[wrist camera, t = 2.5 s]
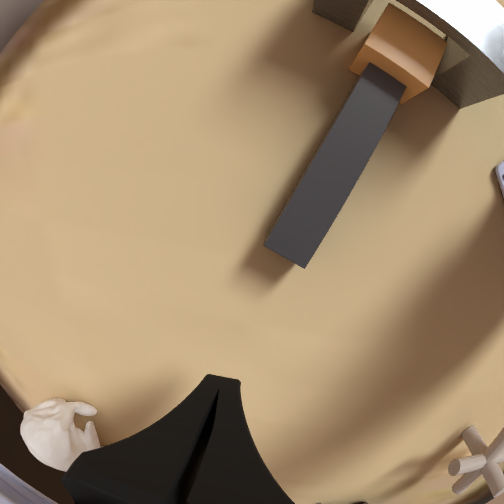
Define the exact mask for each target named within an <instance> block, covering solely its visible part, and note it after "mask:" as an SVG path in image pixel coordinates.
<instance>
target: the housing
mask: <svg viewBox="0 0 504 504" xmlns="http://www.w3.org/2000/svg"><path fill="white" fill-rule="evenodd" d="M372 1H373V0H314V6H313V11H312V12H314V13H316V14H318V15H320V16H323V17H325V18H327V19H329V20H331V21H333V22H335V23H337V24H339V25H341V26H343V27H345V28H347V29H349V30H350V31H352V32H353V31H354V30H355V28H356V26H357V25H358V23H359V22H360V20H361V19H362V17H363V15H364V14H365V12H366V11H367V9H368V8H369V6H370V4H371V3H372ZM396 1H398V2H400V3H401V4H403V5H404V6H406V7H408V8H409V9H411V10H412V11H414V12H415V13H417V14H418V15H420V16H421V17H423V18H424V19H425V20H427V21H428V22H430V23H431V24H432V25H434V26H435V27H436V28H438V29H439V30H440V31H442V32H443V33H444V34H446V35H447V38H446V42H447V46H446V48H445V51H444V53H443V56H442V58H441V61H440V63H439V65H438V68H437V70H436V73H435V75H434V77H433V80H432V82H431V84H432V85H433V86H435V87H436V88H437V89H438V90H440V91H441V92H442V93H443V94H444V95H446V96H447V97H448V98H449V99H450V100H451V101H452V102H454V103H455V104H456V105H457V106H458V107H459V108H460V109H461V108H464V107H466V106H469V105H472V104H475V103H478V102H481V101H484V100H487V99H490V98H493V97H496V96H499V95H502V94H504V8H503V7H502V6H501V5H500V4H499V3H498V2H496V1H495V0H396Z"/></svg>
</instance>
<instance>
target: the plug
mask: <svg viewBox="0 0 504 504" xmlns="http://www.w3.org/2000/svg"><path fill="white" fill-rule="evenodd" d="M446 46H447V42H446V41H445V40H443V39H442V38H441V37H439V36H438V35H437V34H435V33H434V32H433V31H431V30H430V29H429V28H427V27H426V26H425V25H423V24H422V23H420V22H419V21H417V20H416V19H414V18H413V17H411V16H410V15H408V14H407V13H405V12H404V11H402V10H400V9H399V8H397V7H396V6H394V5H392V4H391V3H389V4H388V5H387V7H386V8H385V10H384V12H383V13H382V15H381V16H380V18H379V20H378V21H377V23H376V24H375V26H374V28H373V29H372V31H371V33H370V34H369V36H368V38H367V39H366V41H365V43H364V44H363V46H362V48H361V49H360V51H359V53H358V54H357V56H356V58H355V60H354V61H353V63H352V65H351V66H350V68H349V70H350V71H352V72H353V73H355V74H357V75H358V78H357V80H356V82H355V83H354V85H353V87H352V89H351V90H350V92H349V94H348V96H347V97H346V99H345V101H344V103H343V104H342V106H341V108H340V110H339V111H338V113H337V115H336V117H335V118H334V120H333V122H332V124H331V125H330V127H329V129H328V131H327V132H326V134H325V136H324V137H323V139H322V141H321V143H320V144H319V146H318V148H317V150H316V151H315V153H314V155H313V157H312V158H311V160H310V162H309V163H308V165H307V167H306V169H305V170H304V172H303V174H302V176H301V177H300V179H299V181H298V183H297V184H296V186H295V188H294V189H293V191H292V193H291V195H290V196H289V198H288V200H287V202H286V203H285V205H284V207H283V208H282V210H281V212H280V214H279V215H278V217H277V219H276V220H275V222H274V224H273V226H272V227H271V229H270V231H269V233H268V234H267V236H266V238H265V242H264V246H265V247H267V248H269V249H271V250H272V251H274V252H276V253H278V254H279V255H281V256H283V257H285V258H286V259H288V260H290V261H292V262H293V263H295V264H297V265H298V266H300V267H302V268H304V269H305V267H306V266H307V264H308V263H309V261H310V259H311V258H312V256H313V255H314V253H315V251H316V250H317V248H318V247H319V245H320V243H321V242H322V240H323V238H324V237H325V235H326V233H327V232H328V230H329V228H330V227H331V225H332V223H333V222H334V220H335V218H336V217H337V215H338V213H339V212H340V210H341V208H342V206H343V205H344V203H345V201H346V200H347V198H348V196H349V194H350V193H351V191H352V189H353V187H354V186H355V184H356V182H357V180H358V179H359V177H360V175H361V173H362V171H363V170H364V168H365V166H366V164H367V162H368V161H369V159H370V157H371V155H372V153H373V151H374V150H375V148H376V146H377V144H378V142H379V140H380V138H381V137H382V135H383V133H384V131H385V129H386V127H387V125H388V123H389V121H390V119H391V117H392V116H393V114H394V112H395V110H396V108H397V106H398V104H399V103H401V104H403V103H404V102H406V101H408V100H409V99H411V98H412V97H414V96H416V95H417V94H419V93H421V92H422V91H424V90H426V89H428V88H429V86H430V84H431V82H432V80H433V77H434V75H435V73H436V70H437V68H438V65H439V63H440V61H441V58H442V56H443V53H444V51H445V48H446Z"/></svg>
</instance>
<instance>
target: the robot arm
mask: <svg viewBox="0 0 504 504" xmlns="http://www.w3.org/2000/svg"><path fill="white" fill-rule="evenodd" d="M495 171H496V175H497V178H498V181H499V184H500V187H501V190H502V194H503V197H504V160H503V161H502V162H501V163H499V164H498V165H497V166H496V170H495ZM502 176H503V178H502ZM240 385H241V382H240V381H239V380H237V379H232V378H226V377H221V376H216V375H211V374H208V375H206V376H205V377H204V379H203V380H202V381H201V382H200V384H199V385H198V386H197V387H196V388H195V389H194V390H193V391H192V392H191V393H190V394H189V395H188V396H187V397H186V398H185V399H184V400H183V401H182V402H181V403H180V404H179V405H178V406H177V407H175V408H174V409H173V410H172V411H170V412H169V413H168V414H167V415H165V416H164V417H163V418H161V419H160V420H158V421H157V422H155V423H154V424H152V425H151V426H149V427H147V428H146V429H144V430H142V431H140V432H138V433H136V434H134V435H132V436H130V437H128V438H126V439H123V440H121V441H118V442H116V443H113V444H111V445H108V446H105V447H101V448H97V449H94V450H90V451H86V452H82V453H81V454H80V455H79V456H78V457H77V458H76V459H75V461H74V462H73V463H72V464H71V466H70V467H69V469H68V470H67V472H66V473H65V475H64V476H63V479H62V481H63V484H64V486H65V488H66V489H67V491H68V492H69V493H70V495H71V496H72V498H73V499H74V501H75V503H74V504H295V503H294V502H293V501H292V500H291V499H290V498H289V497H288V496H287V494H286V493H285V492H284V491H283V490H282V488H281V487H280V486H279V484H278V483H277V482H276V480H275V479H274V478H273V476H272V475H271V473H270V471H269V470H268V468H267V467H266V465H265V463H264V462H263V460H262V458H261V456H260V454H259V452H258V450H257V448H256V446H255V444H254V442H253V439H252V437H251V434H250V431H249V428H248V425H247V422H246V419H245V415H244V411H243V406H242V401H241V392H240ZM0 504H58V503H56V502H54V501H52V500H51V499H49V498H48V497H46V496H45V495H43V494H41V493H40V492H38V491H37V490H35V489H34V488H32V487H31V486H29V485H28V484H27V483H25V482H24V481H22V480H21V479H20V478H18V477H17V476H16V475H14V474H13V473H12V472H10V471H9V470H8V469H6V468H5V467H4V466H3V465H1V464H0Z"/></svg>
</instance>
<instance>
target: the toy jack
mask: <svg viewBox="0 0 504 504" xmlns="http://www.w3.org/2000/svg"><path fill="white" fill-rule="evenodd" d="M462 437H463V439H464V441H465V443H466V445H467V446H468V448H469V450H470V452H471V453H472V456H468V457H463V458H458V459H454V460H452V461H451V463H450V464H449V468H448V472H449V474H450V475H451V476H456V475H460V474H463V476H462V477H461V478H460V479H459V480H458V481H456V482H455V483H454V484H453V486H452V491H453V492H454V493H455V494H461V493H463V492H464V491H465V490H466V489H467V488H468V487H469V486H470V485H471V484H472V483H473V482H474V481H475V480H476V479H477V478H478V477H479V476H480V475H481V474H483V476H484V478H485V480H486V482H487V484H488V486H489V488H490V490H491V492H492V494H493V496H494V497H497V496H499V495H500V494H502V493H503V492H504V475H503V473H502V471H501V469H500V467H499V466H498V463H501V462H504V428H503V429H502V430H501V432H500V433H499V434H498V436H497V437H496V438H495V439H494V441H493V442H492V443H491V444H490V446H489V447H487V445H486V444H485V442H484V440H483V439H482V437H481V436H480V434H479V432H478V431H477V429H476V428H475V426H470V427H468V428H467V429H466V430H465V431H464V432H463V433H462Z"/></svg>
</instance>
